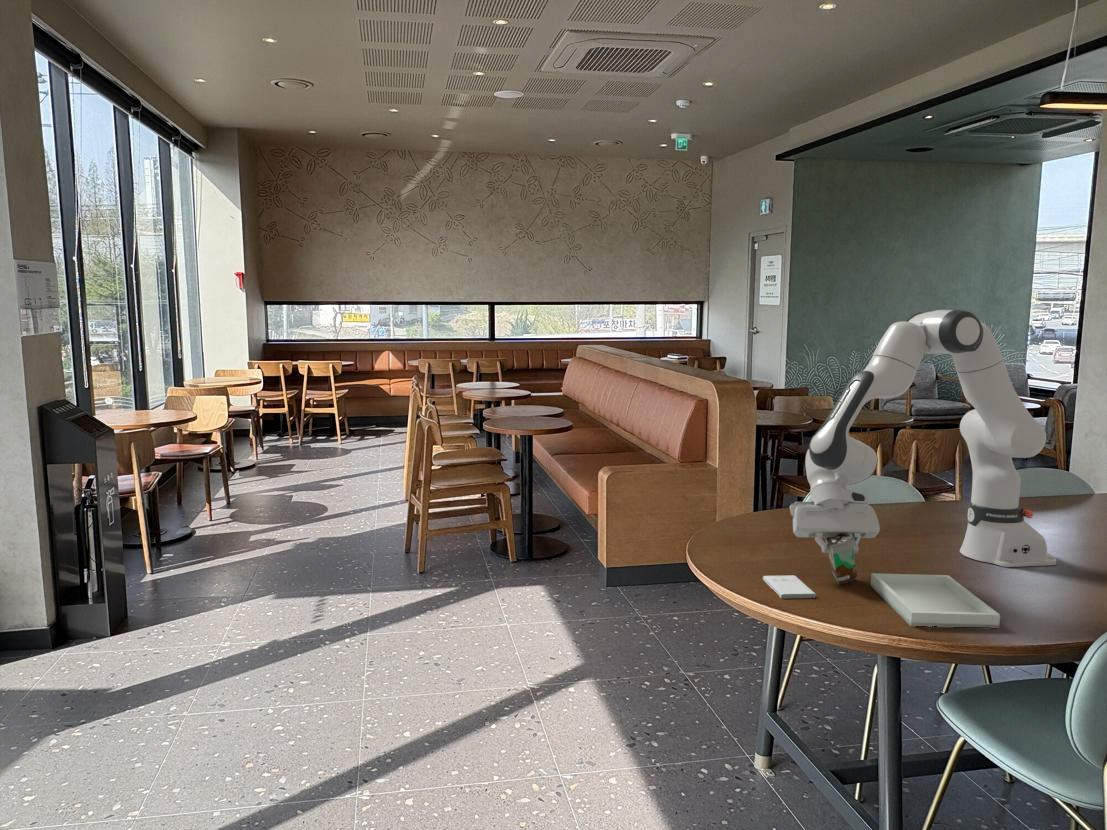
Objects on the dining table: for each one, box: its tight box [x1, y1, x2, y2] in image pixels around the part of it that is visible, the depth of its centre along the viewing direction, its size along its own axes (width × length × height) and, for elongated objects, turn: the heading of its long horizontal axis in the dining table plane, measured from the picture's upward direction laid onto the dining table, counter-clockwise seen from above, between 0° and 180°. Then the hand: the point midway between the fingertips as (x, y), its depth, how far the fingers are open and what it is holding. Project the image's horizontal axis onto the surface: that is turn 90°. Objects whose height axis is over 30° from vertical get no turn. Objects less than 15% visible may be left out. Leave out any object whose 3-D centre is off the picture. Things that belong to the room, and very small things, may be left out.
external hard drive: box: [762, 574, 817, 599], centre depth 188 cm, size 2×8×12 cm
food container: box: [824, 533, 858, 585], centre depth 192 cm, size 12×6×10 cm, turn 170°
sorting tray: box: [870, 572, 1001, 629], centre depth 178 cm, size 18×24×3 cm
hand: (840, 552), depth 192 cm, fingers closed on food container, 5 cm apart
